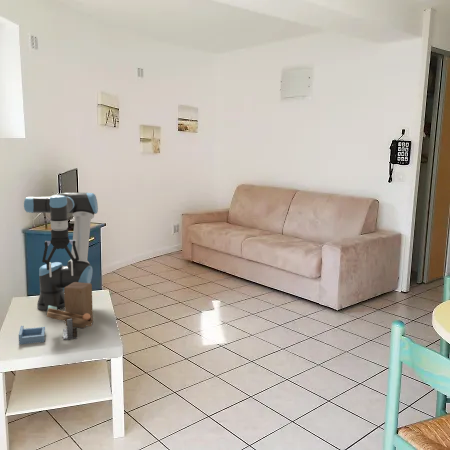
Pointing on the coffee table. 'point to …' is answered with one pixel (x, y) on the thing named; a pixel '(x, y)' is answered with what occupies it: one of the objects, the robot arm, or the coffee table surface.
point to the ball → (86, 316)
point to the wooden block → (78, 300)
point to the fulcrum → (69, 331)
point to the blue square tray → (31, 335)
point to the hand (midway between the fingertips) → (61, 275)
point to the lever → (67, 316)
